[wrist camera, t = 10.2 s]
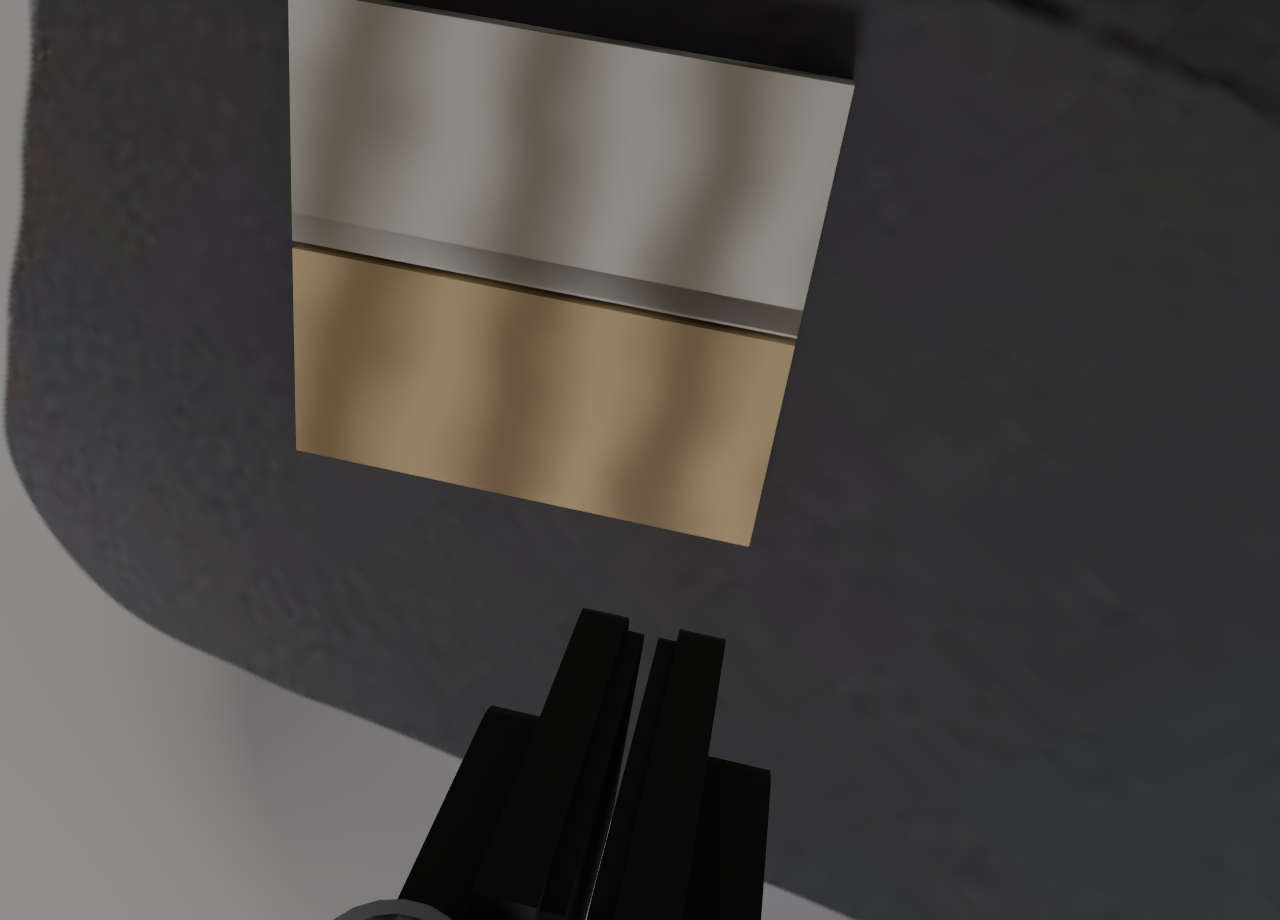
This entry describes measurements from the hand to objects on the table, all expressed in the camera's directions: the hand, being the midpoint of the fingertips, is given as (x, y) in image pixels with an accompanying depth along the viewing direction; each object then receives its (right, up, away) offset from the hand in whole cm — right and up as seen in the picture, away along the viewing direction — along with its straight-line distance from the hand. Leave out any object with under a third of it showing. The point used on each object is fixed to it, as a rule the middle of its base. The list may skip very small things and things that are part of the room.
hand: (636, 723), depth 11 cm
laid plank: (-3, +15, +26) cm, 30 cm away
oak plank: (-4, +6, +30) cm, 31 cm away
